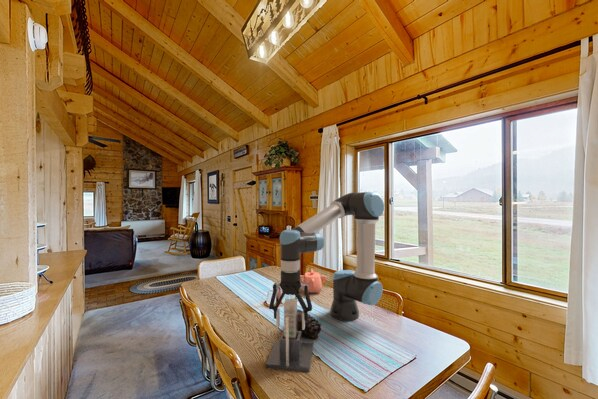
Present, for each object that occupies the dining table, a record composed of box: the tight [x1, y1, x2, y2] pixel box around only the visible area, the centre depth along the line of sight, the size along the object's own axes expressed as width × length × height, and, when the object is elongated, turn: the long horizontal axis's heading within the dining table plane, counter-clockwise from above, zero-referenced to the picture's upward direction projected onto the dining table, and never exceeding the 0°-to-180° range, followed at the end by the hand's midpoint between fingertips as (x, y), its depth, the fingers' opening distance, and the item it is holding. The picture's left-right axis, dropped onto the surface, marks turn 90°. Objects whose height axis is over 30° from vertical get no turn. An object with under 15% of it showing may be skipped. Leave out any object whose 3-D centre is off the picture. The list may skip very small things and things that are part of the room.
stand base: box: [265, 316, 314, 372], centre depth 105 cm, size 16×16×19 cm
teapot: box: [300, 268, 328, 295], centre depth 178 cm, size 17×16×13 cm
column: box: [283, 298, 298, 339], centre depth 104 cm, size 4×5×20 cm
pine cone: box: [297, 308, 322, 341], centre depth 123 cm, size 10×18×10 cm, turn 61°
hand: (290, 327), depth 105 cm, fingers open, 9 cm apart
